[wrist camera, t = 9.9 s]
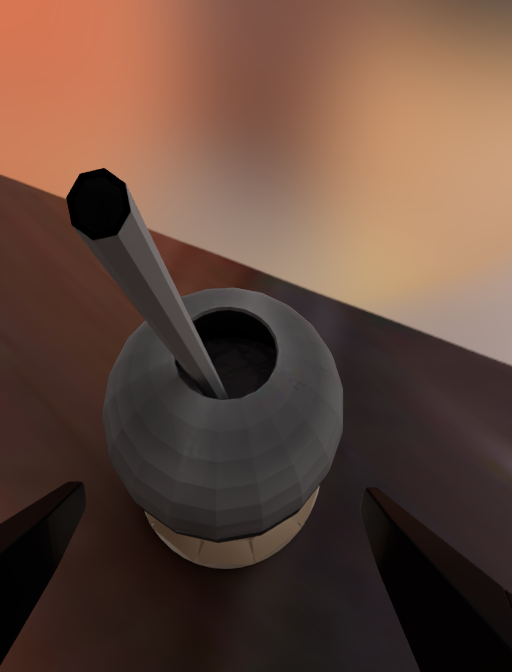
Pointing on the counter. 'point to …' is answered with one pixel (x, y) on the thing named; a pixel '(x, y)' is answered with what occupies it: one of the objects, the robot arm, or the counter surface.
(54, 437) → the counter surface
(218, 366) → the beverage cup
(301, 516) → the ring holder
